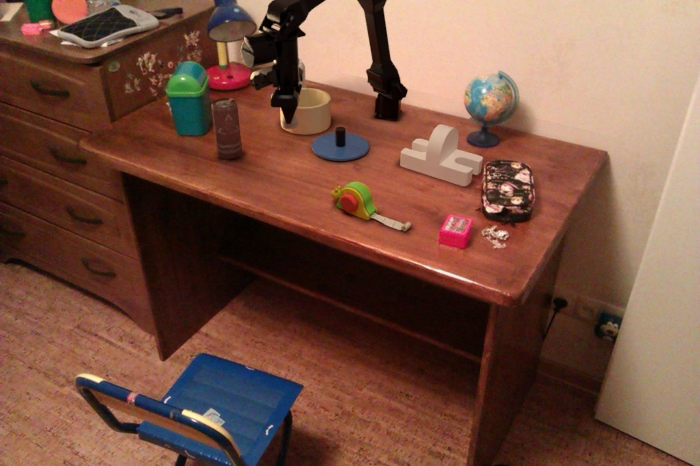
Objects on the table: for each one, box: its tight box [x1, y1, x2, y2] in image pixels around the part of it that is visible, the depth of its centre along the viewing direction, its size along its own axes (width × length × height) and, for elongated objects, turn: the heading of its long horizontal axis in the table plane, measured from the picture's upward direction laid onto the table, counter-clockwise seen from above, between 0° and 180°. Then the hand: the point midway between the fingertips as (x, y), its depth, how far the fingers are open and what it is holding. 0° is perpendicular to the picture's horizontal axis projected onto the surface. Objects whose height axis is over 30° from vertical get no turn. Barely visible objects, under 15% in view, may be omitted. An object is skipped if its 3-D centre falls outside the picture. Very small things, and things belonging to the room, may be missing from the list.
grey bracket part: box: [399, 123, 484, 187], centre depth 144 cm, size 10×18×11 cm, turn 56°
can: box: [211, 97, 243, 161], centre depth 147 cm, size 6×6×14 cm
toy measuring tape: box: [331, 181, 412, 233], centre depth 128 cm, size 6×19×7 cm, turn 55°
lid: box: [311, 126, 370, 162], centre depth 153 cm, size 15×15×6 cm
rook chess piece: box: [280, 114, 299, 129], centre depth 148 cm, size 4×4×8 cm
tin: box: [279, 87, 332, 136], centre depth 164 cm, size 14×14×8 cm
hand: (289, 119), depth 150 cm, fingers closed on rook chess piece, 4 cm apart
